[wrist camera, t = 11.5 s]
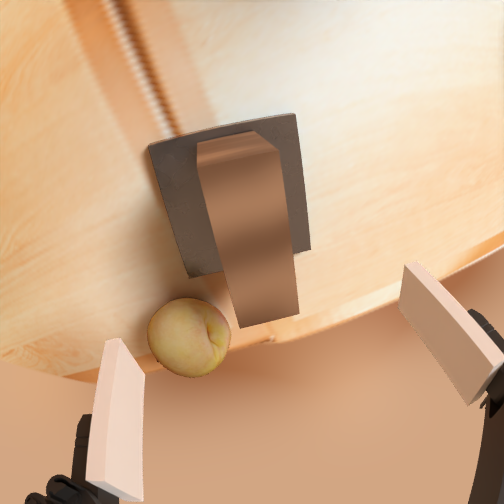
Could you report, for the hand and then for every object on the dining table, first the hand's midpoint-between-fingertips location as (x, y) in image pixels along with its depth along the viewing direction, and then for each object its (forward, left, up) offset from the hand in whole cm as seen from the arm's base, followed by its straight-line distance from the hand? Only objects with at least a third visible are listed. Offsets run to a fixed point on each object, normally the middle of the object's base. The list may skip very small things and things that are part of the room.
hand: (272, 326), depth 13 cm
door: (0, 0, -15) cm, 15 cm away
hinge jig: (0, 0, -16) cm, 16 cm away
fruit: (-7, -11, -16) cm, 21 cm away
